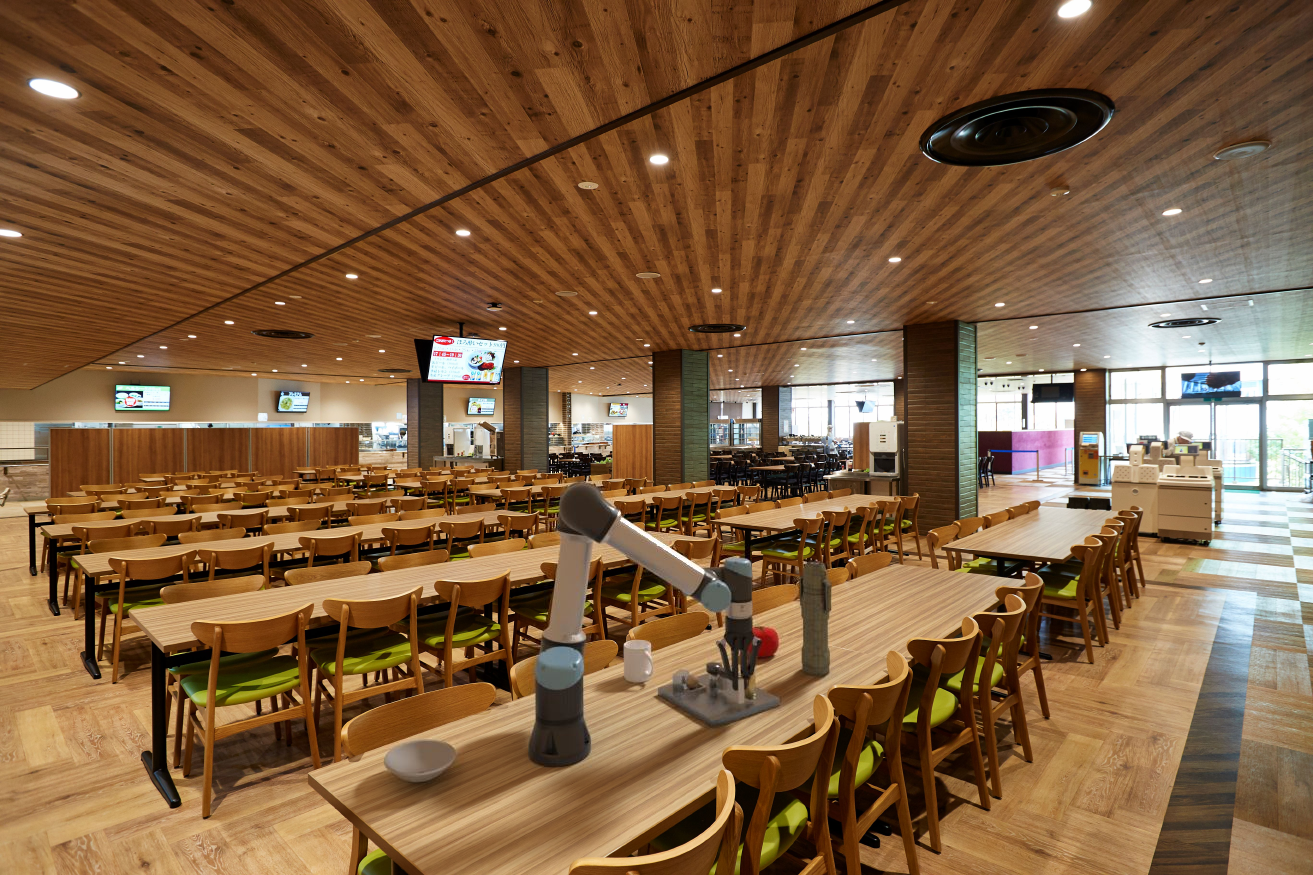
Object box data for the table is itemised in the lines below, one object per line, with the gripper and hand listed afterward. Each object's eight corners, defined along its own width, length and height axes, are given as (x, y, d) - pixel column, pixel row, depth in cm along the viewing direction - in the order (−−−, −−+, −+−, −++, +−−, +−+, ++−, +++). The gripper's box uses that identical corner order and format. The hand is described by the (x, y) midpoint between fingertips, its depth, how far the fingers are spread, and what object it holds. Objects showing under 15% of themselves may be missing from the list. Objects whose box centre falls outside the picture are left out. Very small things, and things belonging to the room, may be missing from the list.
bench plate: (713, 728, 162) (713, 705, 162) (657, 694, 183) (657, 674, 183) (779, 705, 175) (779, 683, 175) (720, 676, 197) (720, 657, 197)
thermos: (824, 679, 193) (823, 567, 193) (792, 669, 202) (791, 562, 202) (839, 672, 199) (838, 563, 199) (808, 662, 208) (807, 558, 208)
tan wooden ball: (691, 692, 180) (691, 678, 180) (683, 687, 183) (682, 674, 183) (702, 689, 182) (701, 675, 182) (693, 684, 185) (693, 671, 185)
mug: (641, 689, 187) (641, 653, 187) (618, 677, 197) (618, 643, 197) (663, 681, 193) (663, 647, 193) (640, 670, 202) (639, 637, 202)
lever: (747, 701, 170) (747, 676, 170) (702, 680, 185) (702, 657, 185) (760, 697, 173) (759, 672, 173) (715, 676, 188) (714, 654, 188)
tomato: (786, 657, 213) (785, 627, 213) (753, 663, 208) (753, 632, 208) (768, 647, 223) (768, 619, 223) (737, 652, 218) (737, 623, 218)
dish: (370, 778, 139) (370, 756, 139) (429, 752, 151) (429, 732, 151) (410, 807, 128) (410, 783, 128) (470, 777, 139) (470, 755, 139)
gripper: (720, 620, 165) (721, 709, 165) (766, 617, 168) (767, 704, 168) (712, 613, 173) (713, 698, 172) (756, 610, 175) (757, 693, 175)
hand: (739, 701), depth 170 cm, fingers closed
